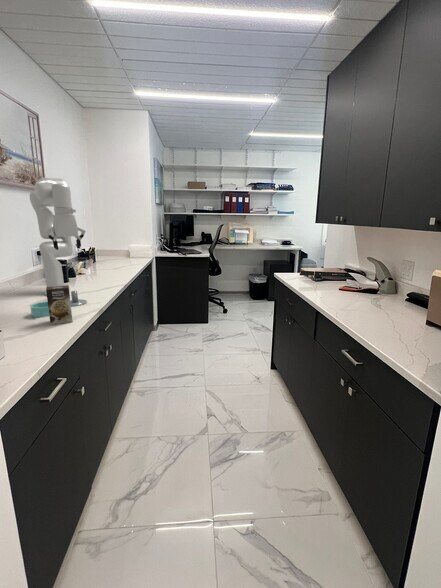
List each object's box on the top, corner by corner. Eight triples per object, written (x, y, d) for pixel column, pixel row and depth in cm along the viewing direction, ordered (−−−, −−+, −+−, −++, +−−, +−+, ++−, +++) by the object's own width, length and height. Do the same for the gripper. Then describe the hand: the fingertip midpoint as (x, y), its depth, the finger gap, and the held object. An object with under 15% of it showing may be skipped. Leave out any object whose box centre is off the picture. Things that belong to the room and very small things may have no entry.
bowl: (30, 313, 150) (29, 304, 149) (55, 309, 157) (54, 300, 156) (34, 319, 142) (32, 309, 141) (60, 315, 148) (58, 305, 147)
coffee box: (50, 325, 135) (45, 289, 131) (50, 321, 140) (45, 286, 136) (73, 322, 139) (68, 287, 135) (72, 318, 144) (68, 284, 140)
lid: (61, 303, 167) (60, 290, 165) (83, 299, 173) (82, 288, 172) (66, 307, 158) (65, 295, 156) (89, 304, 165) (88, 291, 163)
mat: (62, 304, 167) (62, 303, 167) (83, 300, 173) (83, 299, 173) (67, 308, 158) (66, 307, 158) (89, 305, 165) (89, 304, 165)
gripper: (81, 212, 151) (84, 247, 155) (41, 211, 141) (46, 249, 145) (85, 212, 145) (89, 248, 149) (44, 211, 135) (49, 250, 139)
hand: (68, 248), depth 147 cm, fingers open, 9 cm apart
